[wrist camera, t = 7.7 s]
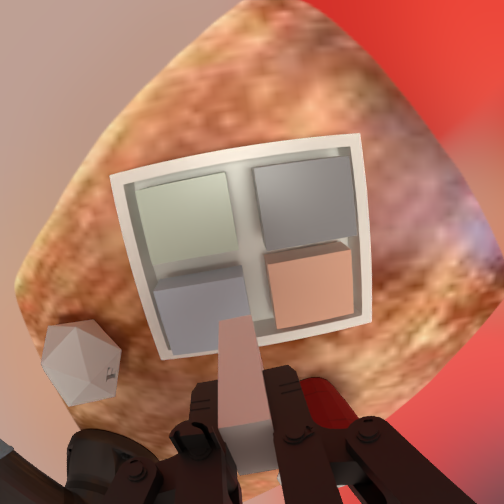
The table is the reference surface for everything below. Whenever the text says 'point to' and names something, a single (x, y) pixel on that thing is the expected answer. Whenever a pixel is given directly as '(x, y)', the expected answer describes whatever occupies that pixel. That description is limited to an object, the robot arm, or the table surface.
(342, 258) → the key terracotta
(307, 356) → the table surface
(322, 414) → the plastic cup
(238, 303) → the key slate
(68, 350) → the die
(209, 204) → the key sage
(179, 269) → the keypad
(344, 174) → the key charcoal
